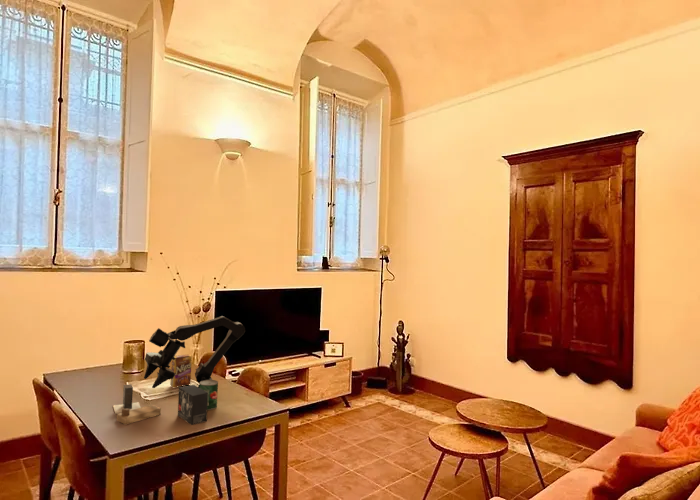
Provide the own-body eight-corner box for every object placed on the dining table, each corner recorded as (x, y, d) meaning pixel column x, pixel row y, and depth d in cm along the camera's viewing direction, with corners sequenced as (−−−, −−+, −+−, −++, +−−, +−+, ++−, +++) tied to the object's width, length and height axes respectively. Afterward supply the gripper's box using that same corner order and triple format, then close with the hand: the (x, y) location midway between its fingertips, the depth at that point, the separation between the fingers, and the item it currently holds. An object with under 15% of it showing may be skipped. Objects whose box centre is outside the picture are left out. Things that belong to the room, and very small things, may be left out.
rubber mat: (138, 403, 203) (138, 402, 203) (141, 410, 194) (141, 409, 194) (113, 406, 197) (113, 405, 197) (115, 414, 189) (115, 412, 189)
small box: (176, 415, 190) (178, 387, 190) (192, 412, 195) (193, 384, 195) (191, 425, 181) (192, 395, 181) (207, 421, 186) (208, 392, 186)
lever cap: (130, 405, 199) (131, 384, 199) (131, 408, 194) (132, 387, 194) (122, 405, 197) (123, 385, 197) (124, 409, 193) (125, 388, 193)
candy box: (173, 388, 225) (174, 357, 225) (169, 386, 228) (171, 355, 228) (190, 385, 231) (192, 355, 231) (187, 383, 234) (188, 353, 234)
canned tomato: (197, 404, 204) (199, 380, 204) (216, 403, 207) (217, 379, 207) (198, 411, 197) (199, 385, 197) (217, 409, 199) (218, 384, 199)
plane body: (151, 410, 195) (152, 399, 195) (160, 414, 191) (161, 403, 191) (116, 420, 182) (117, 408, 182) (125, 424, 179) (125, 412, 179)
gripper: (146, 337, 207) (125, 368, 204) (163, 354, 194) (141, 387, 191) (166, 346, 215) (146, 376, 211) (184, 362, 202) (163, 394, 199)
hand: (148, 383), depth 203 cm, fingers open, 9 cm apart
